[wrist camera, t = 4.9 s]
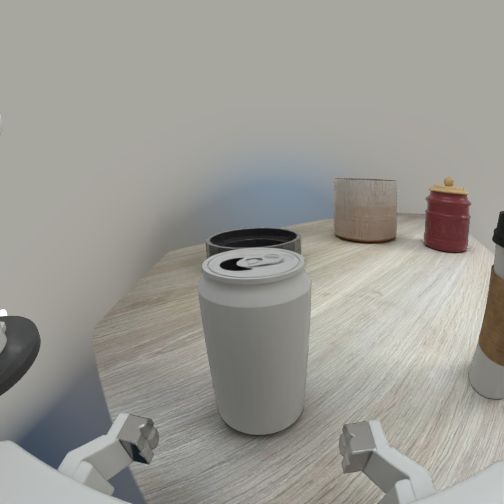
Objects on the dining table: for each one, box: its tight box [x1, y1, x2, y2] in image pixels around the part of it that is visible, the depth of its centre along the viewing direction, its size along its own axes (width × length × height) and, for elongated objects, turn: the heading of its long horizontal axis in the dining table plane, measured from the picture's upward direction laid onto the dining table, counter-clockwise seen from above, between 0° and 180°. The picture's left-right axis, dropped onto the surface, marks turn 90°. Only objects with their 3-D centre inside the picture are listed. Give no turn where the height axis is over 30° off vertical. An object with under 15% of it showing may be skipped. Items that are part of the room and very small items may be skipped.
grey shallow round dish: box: [205, 228, 302, 259], centre depth 54 cm, size 19×19×5 cm
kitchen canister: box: [424, 177, 471, 252], centre depth 54 cm, size 13×13×18 cm
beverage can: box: [198, 248, 311, 435], centre depth 17 cm, size 6×6×12 cm
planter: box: [334, 178, 397, 243], centre depth 68 cm, size 18×18×16 cm
